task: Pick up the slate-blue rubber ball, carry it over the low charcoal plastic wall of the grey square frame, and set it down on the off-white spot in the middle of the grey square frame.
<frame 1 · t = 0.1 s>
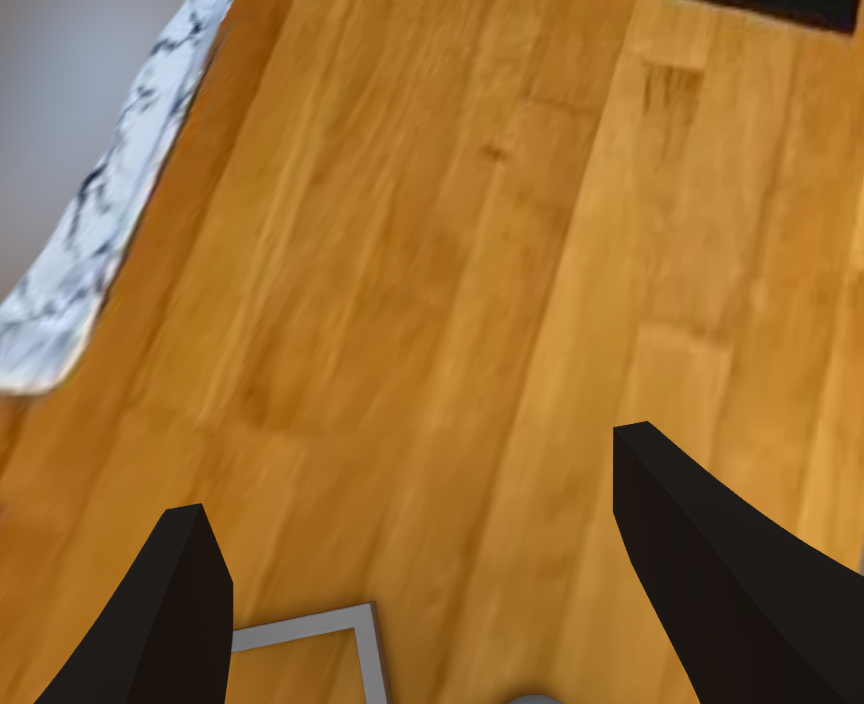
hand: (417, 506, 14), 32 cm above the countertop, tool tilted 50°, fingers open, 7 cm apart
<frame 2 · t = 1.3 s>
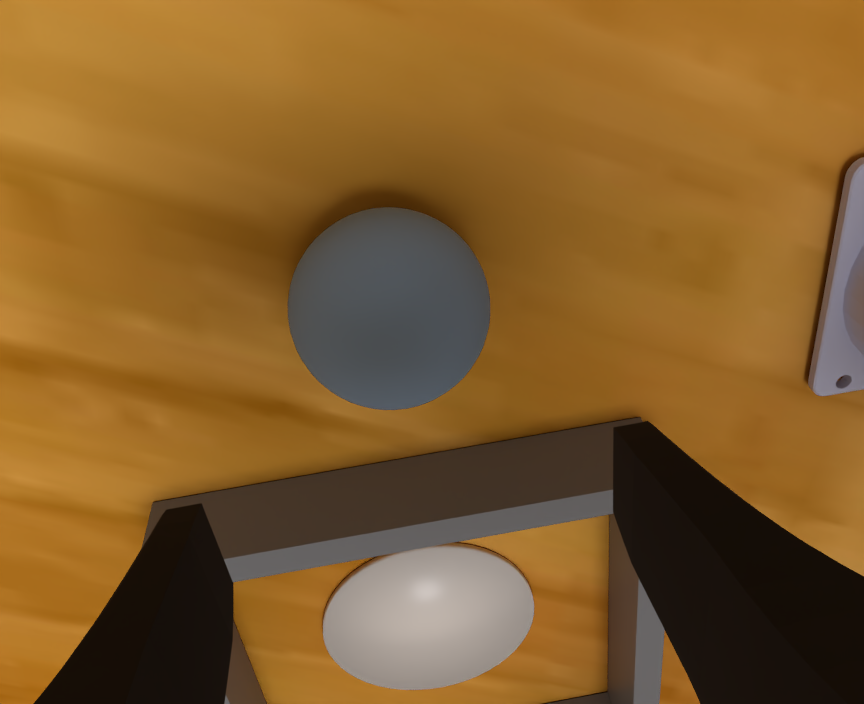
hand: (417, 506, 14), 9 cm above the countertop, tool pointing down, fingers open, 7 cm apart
ball: (389, 309, 20), point 2 cm above the countertop
grey square frame: (429, 617, 30), on the countertop
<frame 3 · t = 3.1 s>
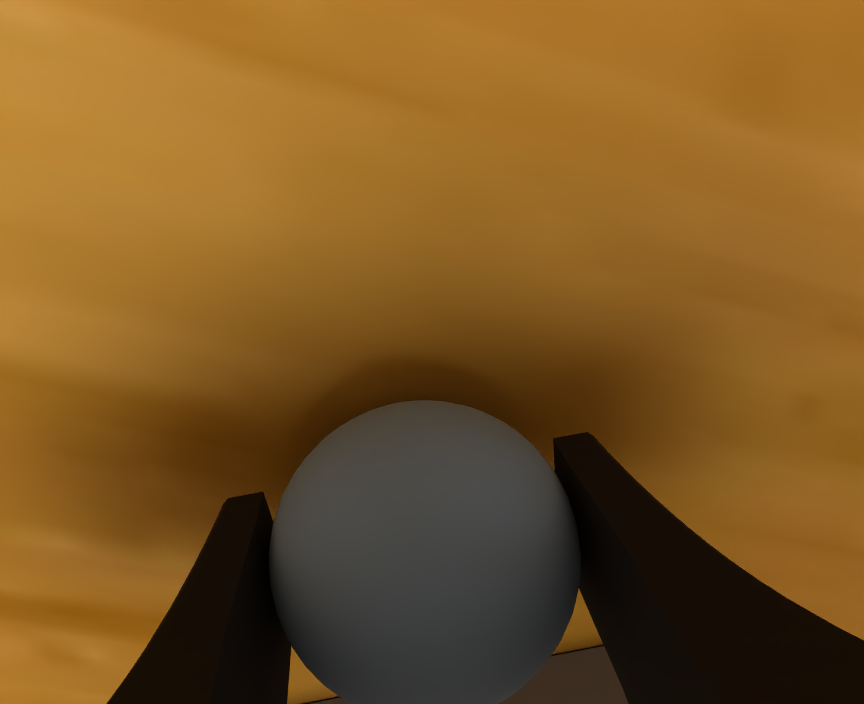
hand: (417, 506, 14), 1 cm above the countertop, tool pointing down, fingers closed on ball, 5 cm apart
ball: (425, 553, 13), point 2 cm above the countertop, touching gripper
when the fingers open (3 cm above the countertop, at t = 7.1 s): ball drops 2 cm, resting on grey square frame.
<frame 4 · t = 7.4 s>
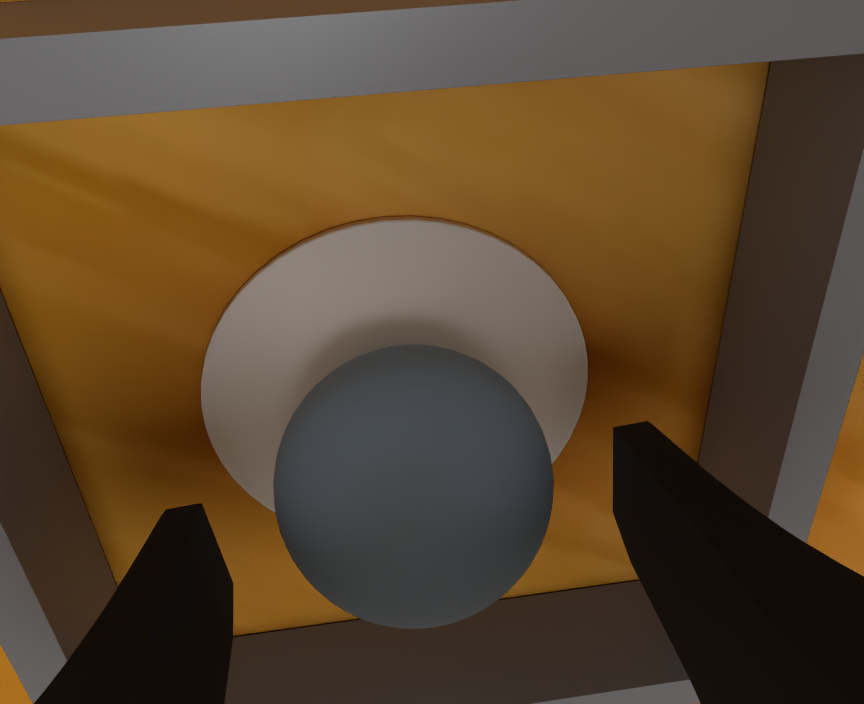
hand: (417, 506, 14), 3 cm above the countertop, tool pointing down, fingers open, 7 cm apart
ball: (413, 482, 14), point 3 cm above the countertop, touching grey square frame
grey square frame: (398, 393, 17), on the countertop
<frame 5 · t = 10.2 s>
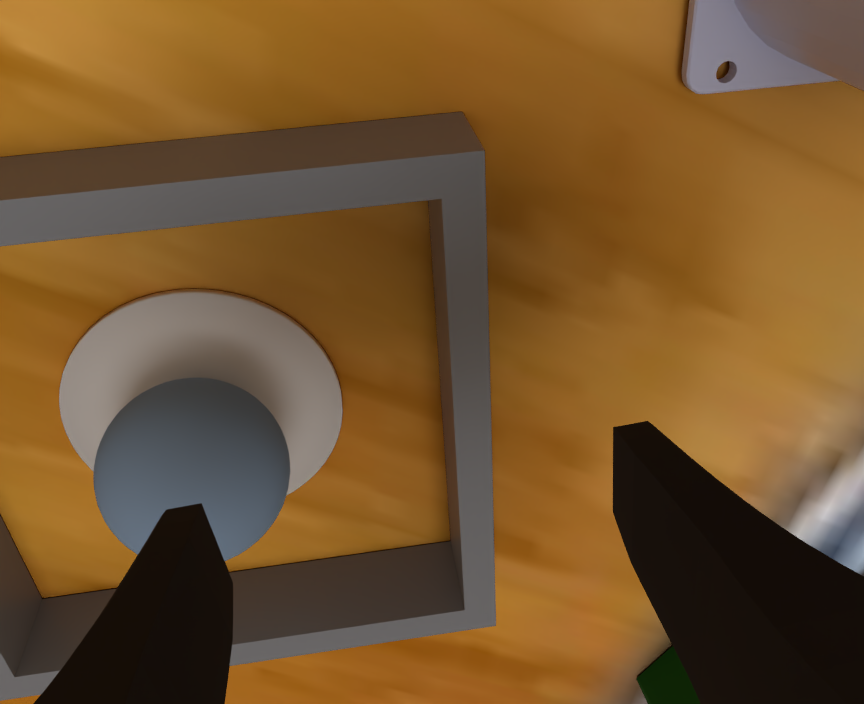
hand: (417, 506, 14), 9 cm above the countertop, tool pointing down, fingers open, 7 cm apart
ball: (195, 471, 21), point 3 cm above the countertop, touching grey square frame
grey square frame: (206, 408, 23), on the countertop
milk carton: (747, 644, 34), on the countertop
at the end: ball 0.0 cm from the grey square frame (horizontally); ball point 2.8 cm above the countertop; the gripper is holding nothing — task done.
